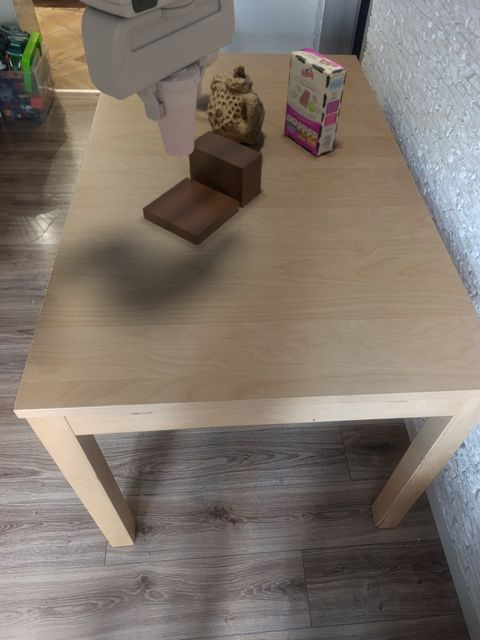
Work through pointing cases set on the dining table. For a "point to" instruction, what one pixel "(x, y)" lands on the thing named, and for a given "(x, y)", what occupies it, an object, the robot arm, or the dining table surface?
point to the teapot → (235, 107)
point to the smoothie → (178, 110)
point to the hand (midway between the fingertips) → (174, 106)
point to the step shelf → (209, 188)
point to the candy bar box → (314, 100)
